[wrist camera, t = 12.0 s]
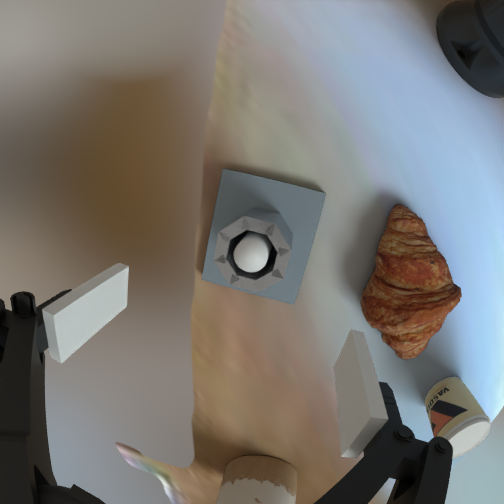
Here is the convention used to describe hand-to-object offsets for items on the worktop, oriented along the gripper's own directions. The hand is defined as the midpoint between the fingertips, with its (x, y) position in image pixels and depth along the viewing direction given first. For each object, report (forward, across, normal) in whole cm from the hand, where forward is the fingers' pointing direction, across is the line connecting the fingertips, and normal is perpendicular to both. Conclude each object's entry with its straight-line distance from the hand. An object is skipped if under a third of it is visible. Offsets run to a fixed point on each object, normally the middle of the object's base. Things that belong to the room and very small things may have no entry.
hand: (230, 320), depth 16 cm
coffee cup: (+21, +36, -18) cm, 46 cm away
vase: (+21, +11, -49) cm, 55 cm away
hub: (+20, -1, 0) cm, 20 cm away
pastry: (+21, +19, -2) cm, 28 cm away
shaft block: (+21, -1, 0) cm, 21 cm away
